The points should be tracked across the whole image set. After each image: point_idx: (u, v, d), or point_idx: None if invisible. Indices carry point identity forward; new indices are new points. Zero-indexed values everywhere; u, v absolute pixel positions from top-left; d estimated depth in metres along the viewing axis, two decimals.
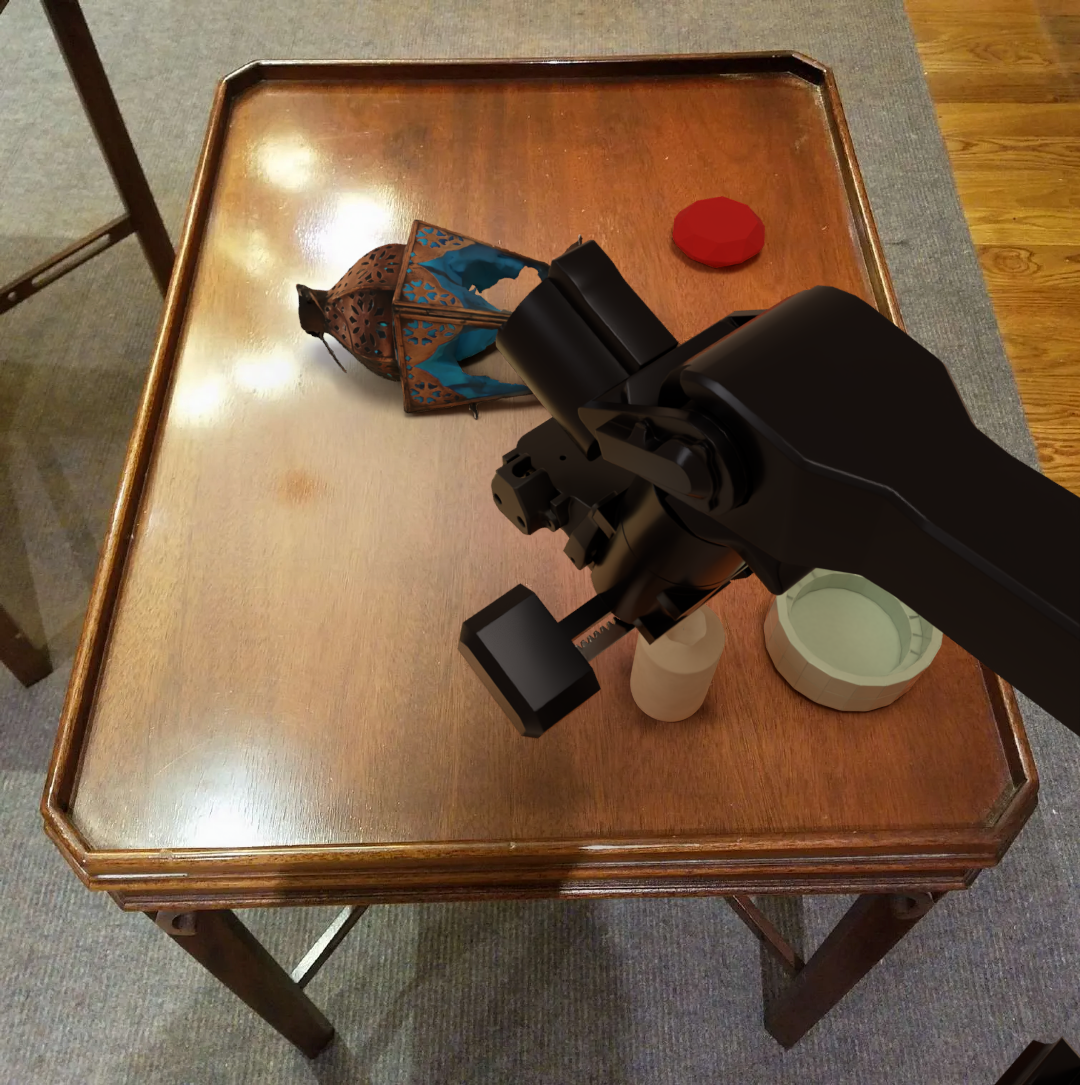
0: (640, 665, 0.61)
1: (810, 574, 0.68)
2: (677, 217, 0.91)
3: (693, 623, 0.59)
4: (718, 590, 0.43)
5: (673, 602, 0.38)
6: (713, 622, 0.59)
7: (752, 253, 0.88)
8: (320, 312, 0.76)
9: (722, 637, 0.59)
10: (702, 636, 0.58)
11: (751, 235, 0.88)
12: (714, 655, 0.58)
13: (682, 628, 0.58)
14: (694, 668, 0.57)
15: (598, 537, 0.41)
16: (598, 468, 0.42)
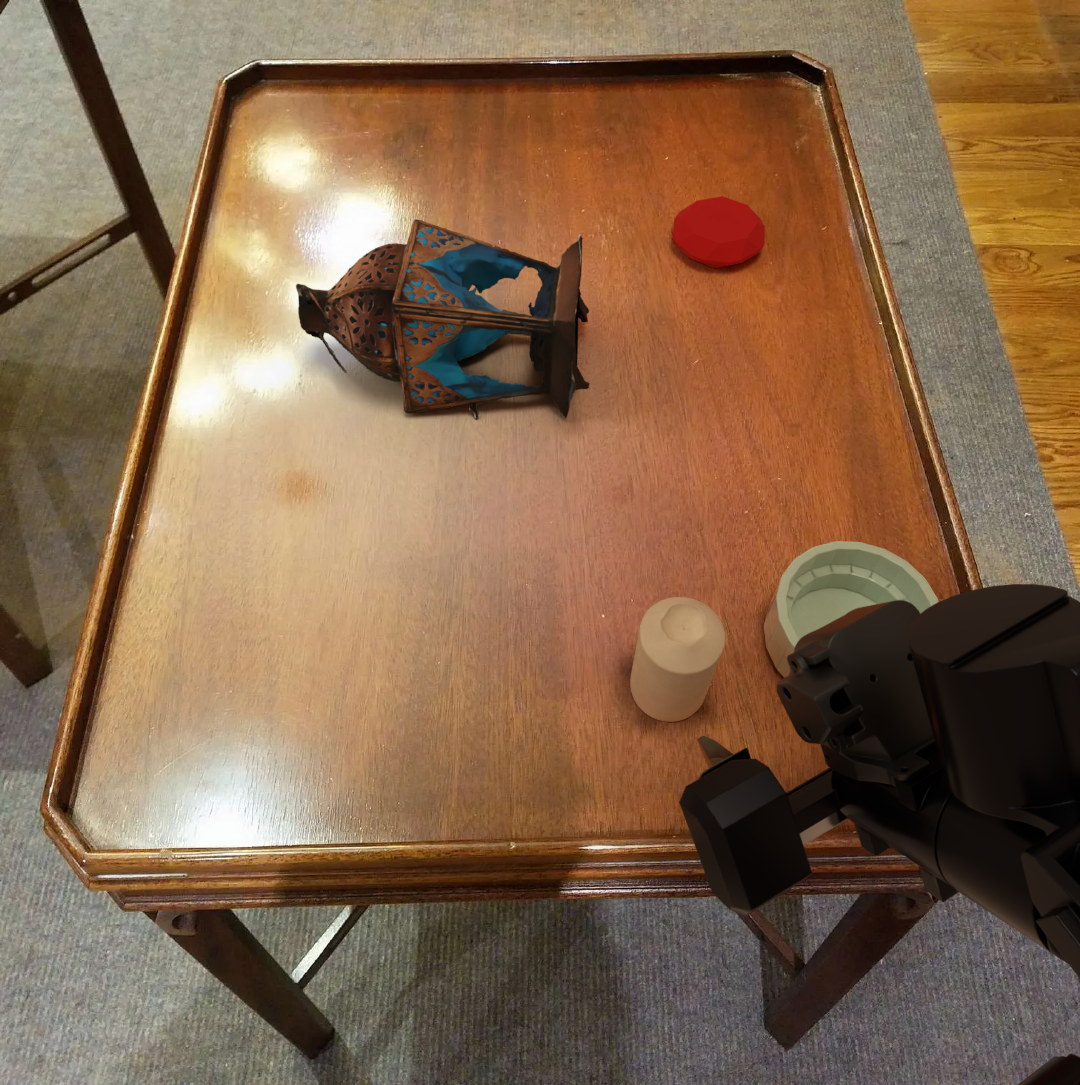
0: (640, 665, 0.61)
1: (810, 574, 0.68)
2: (677, 217, 0.91)
3: (693, 623, 0.59)
4: None
5: (940, 890, 0.37)
6: (713, 622, 0.59)
7: (752, 253, 0.88)
8: (320, 312, 0.76)
9: (722, 637, 0.59)
10: (702, 636, 0.58)
11: (751, 235, 0.88)
12: (714, 655, 0.58)
13: (682, 628, 0.58)
14: (694, 668, 0.57)
15: None
16: (905, 704, 0.38)
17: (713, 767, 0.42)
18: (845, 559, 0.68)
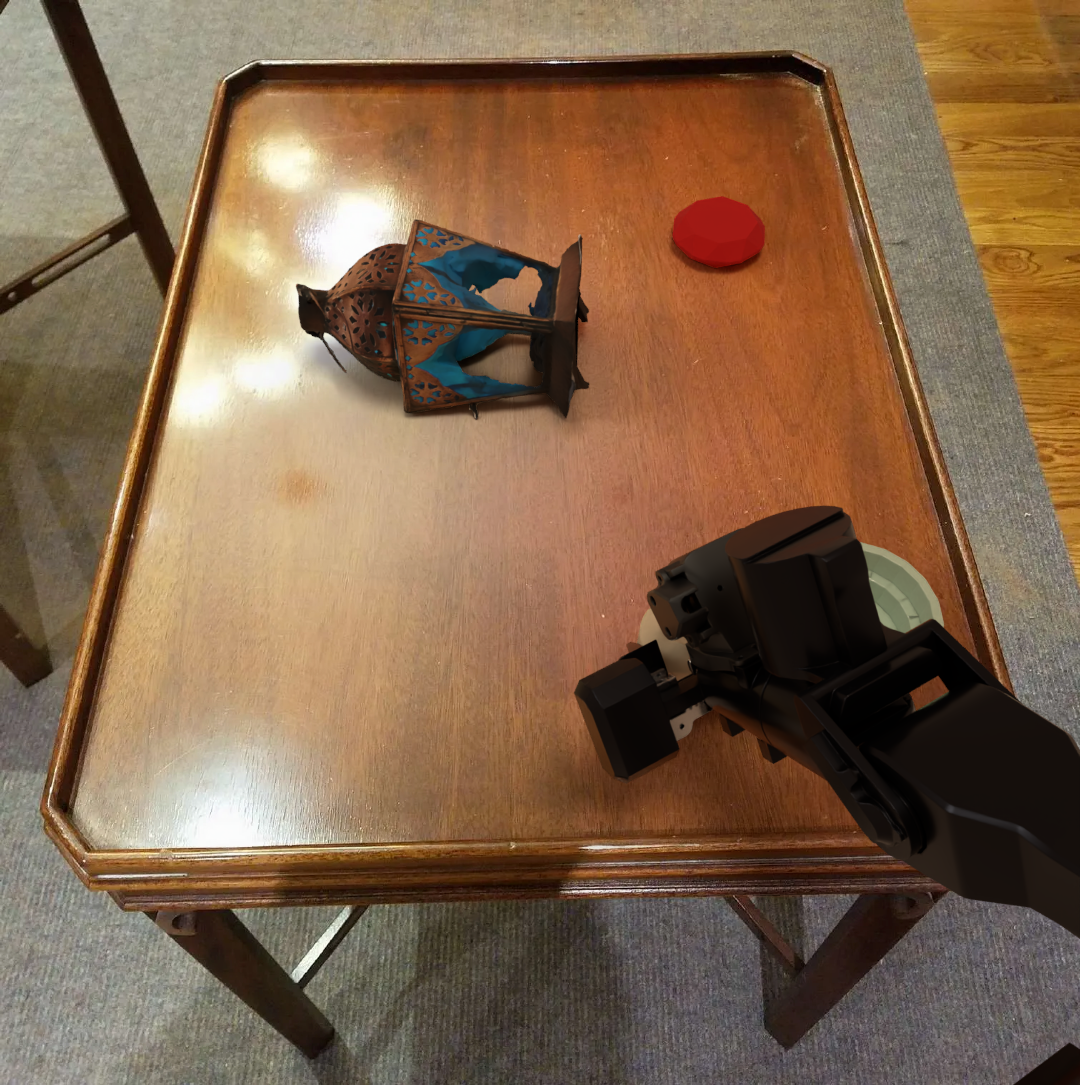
0: None
1: None
2: (677, 217, 0.91)
3: None
4: None
5: (770, 754, 0.48)
6: None
7: (752, 253, 0.88)
8: (320, 312, 0.76)
9: None
10: None
11: (751, 235, 0.88)
12: None
13: None
14: None
15: None
16: None
17: (628, 654, 0.53)
18: None
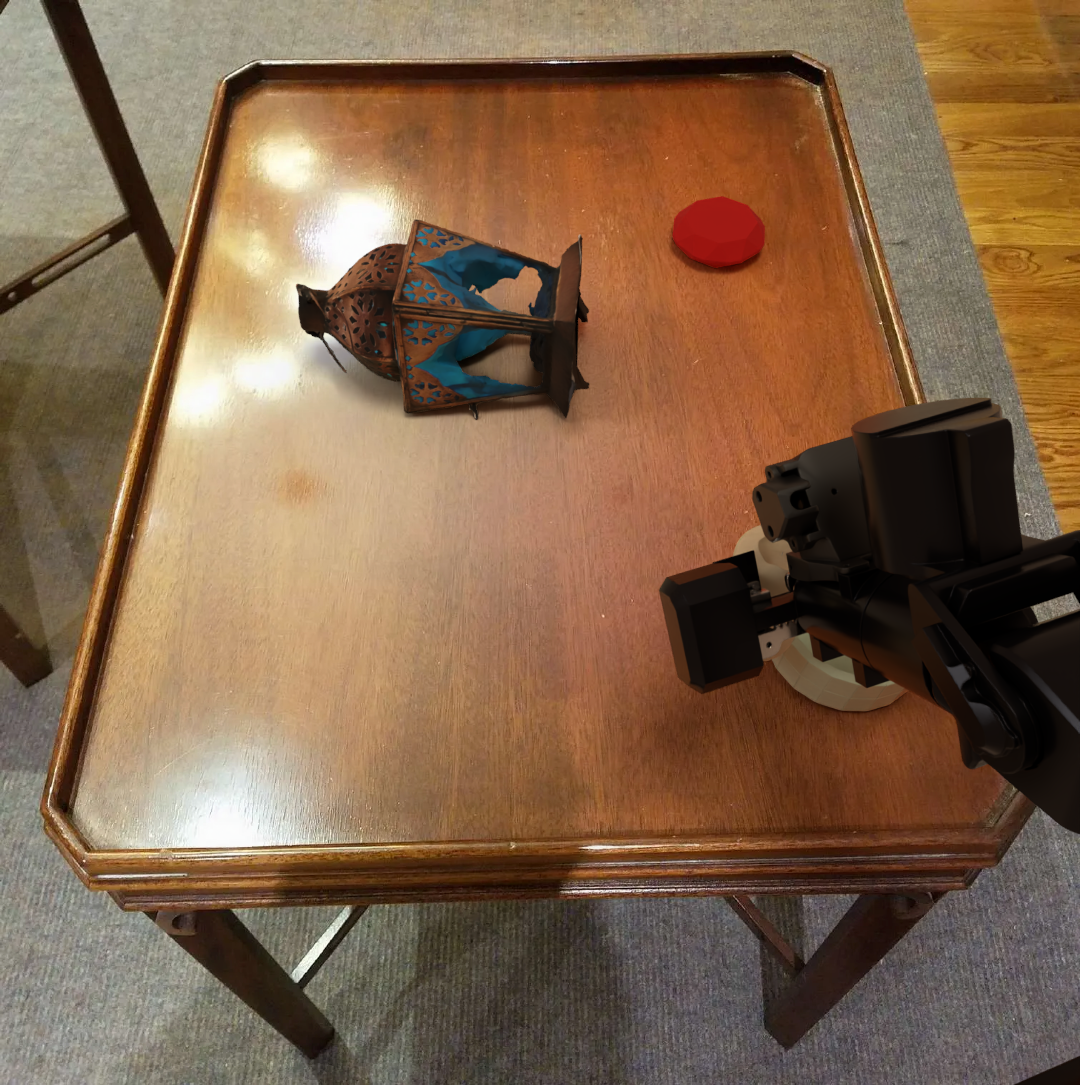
0: None
1: None
2: (677, 217, 0.91)
3: None
4: None
5: (865, 676, 0.44)
6: None
7: (752, 253, 0.88)
8: (320, 312, 0.76)
9: None
10: None
11: (751, 235, 0.88)
12: None
13: (780, 554, 0.55)
14: None
15: None
16: (859, 517, 0.44)
17: (722, 560, 0.49)
18: None
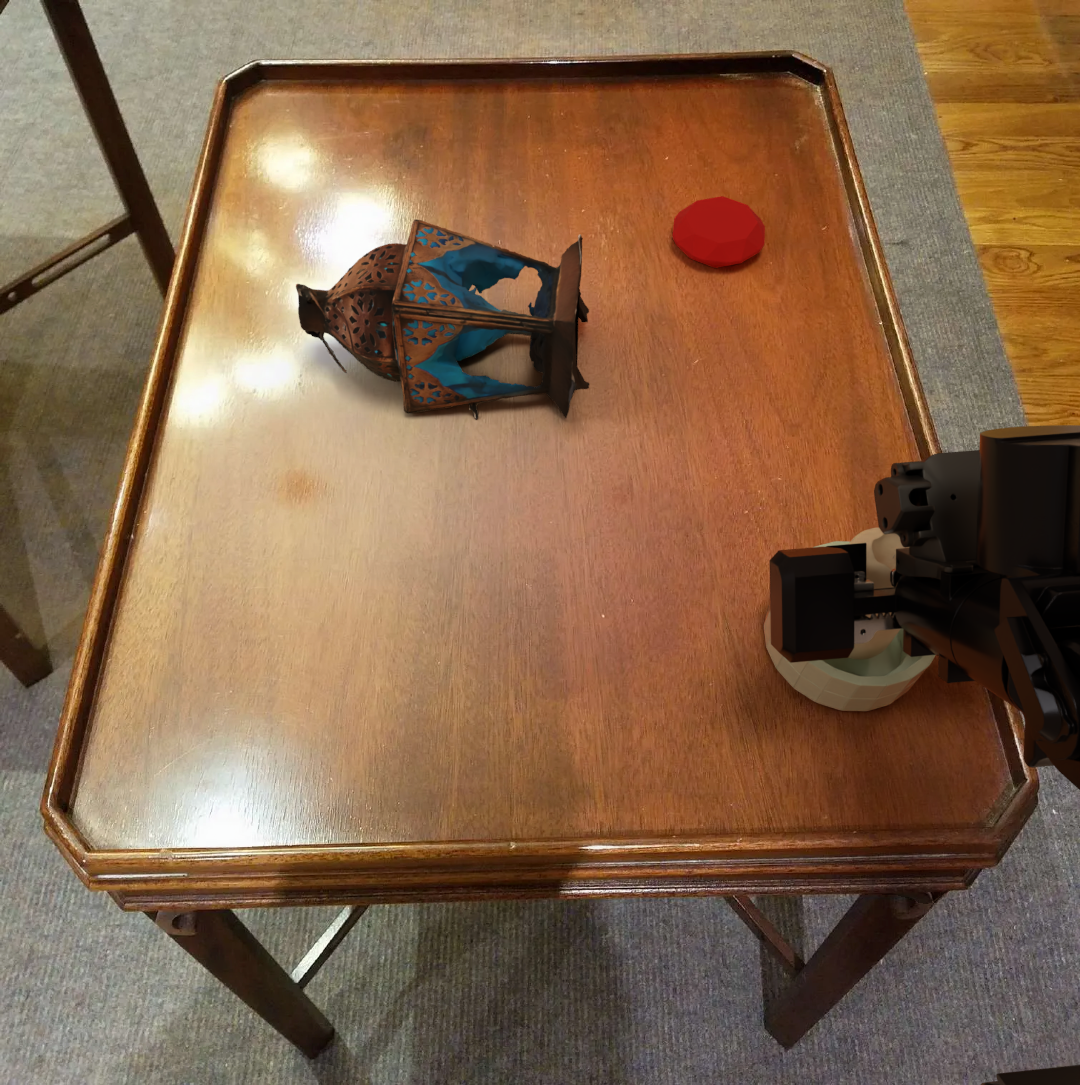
0: None
1: None
2: (677, 217, 0.91)
3: None
4: None
5: (948, 671, 0.47)
6: None
7: (752, 253, 0.88)
8: (320, 312, 0.76)
9: None
10: None
11: (751, 235, 0.88)
12: None
13: (892, 556, 0.58)
14: None
15: None
16: (973, 526, 0.47)
17: (834, 546, 0.53)
18: None
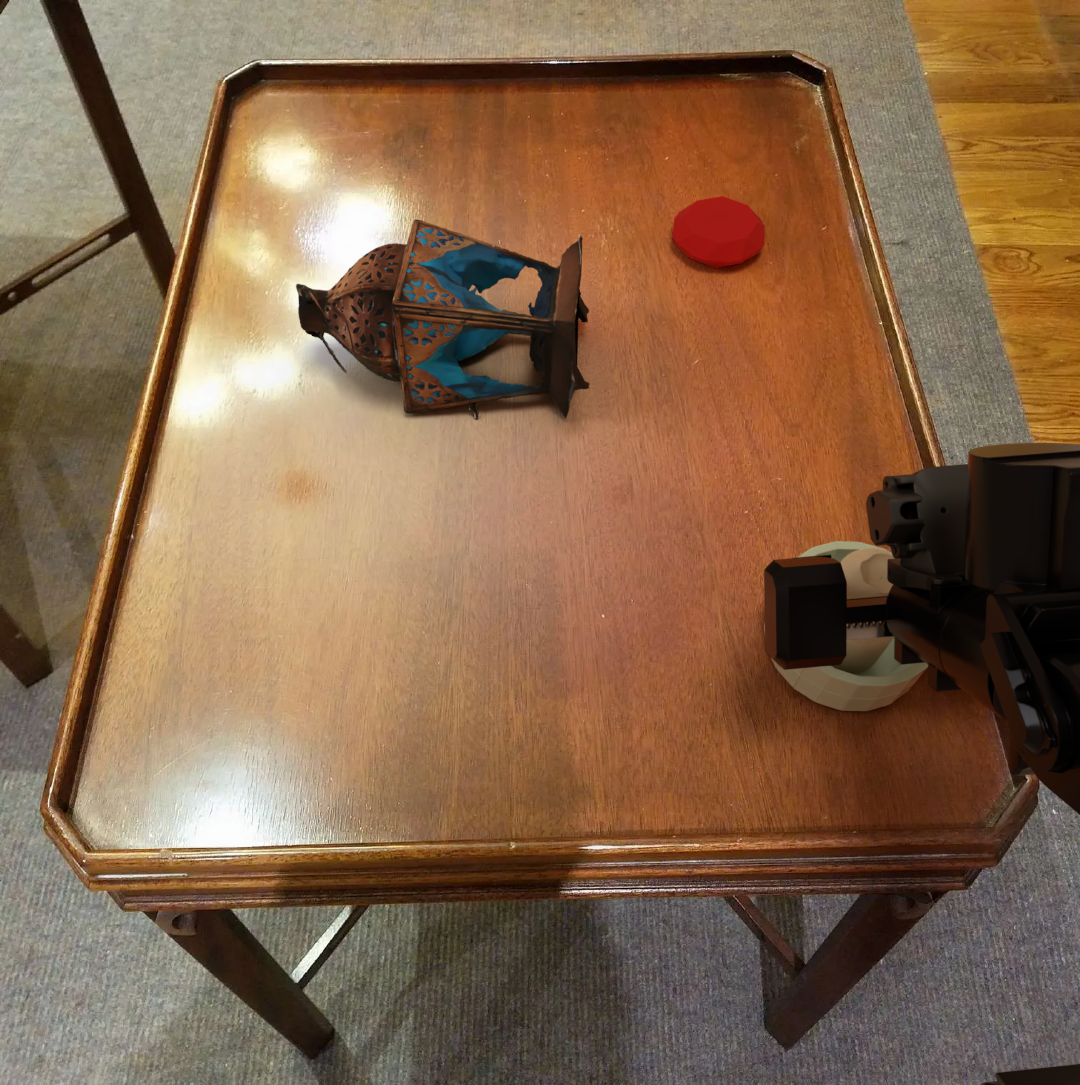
0: None
1: None
2: (677, 217, 0.91)
3: None
4: None
5: (937, 680, 0.48)
6: None
7: (752, 253, 0.88)
8: (320, 312, 0.76)
9: None
10: None
11: (751, 235, 0.88)
12: None
13: (879, 578, 0.60)
14: None
15: None
16: (962, 538, 0.48)
17: (799, 557, 0.54)
18: None
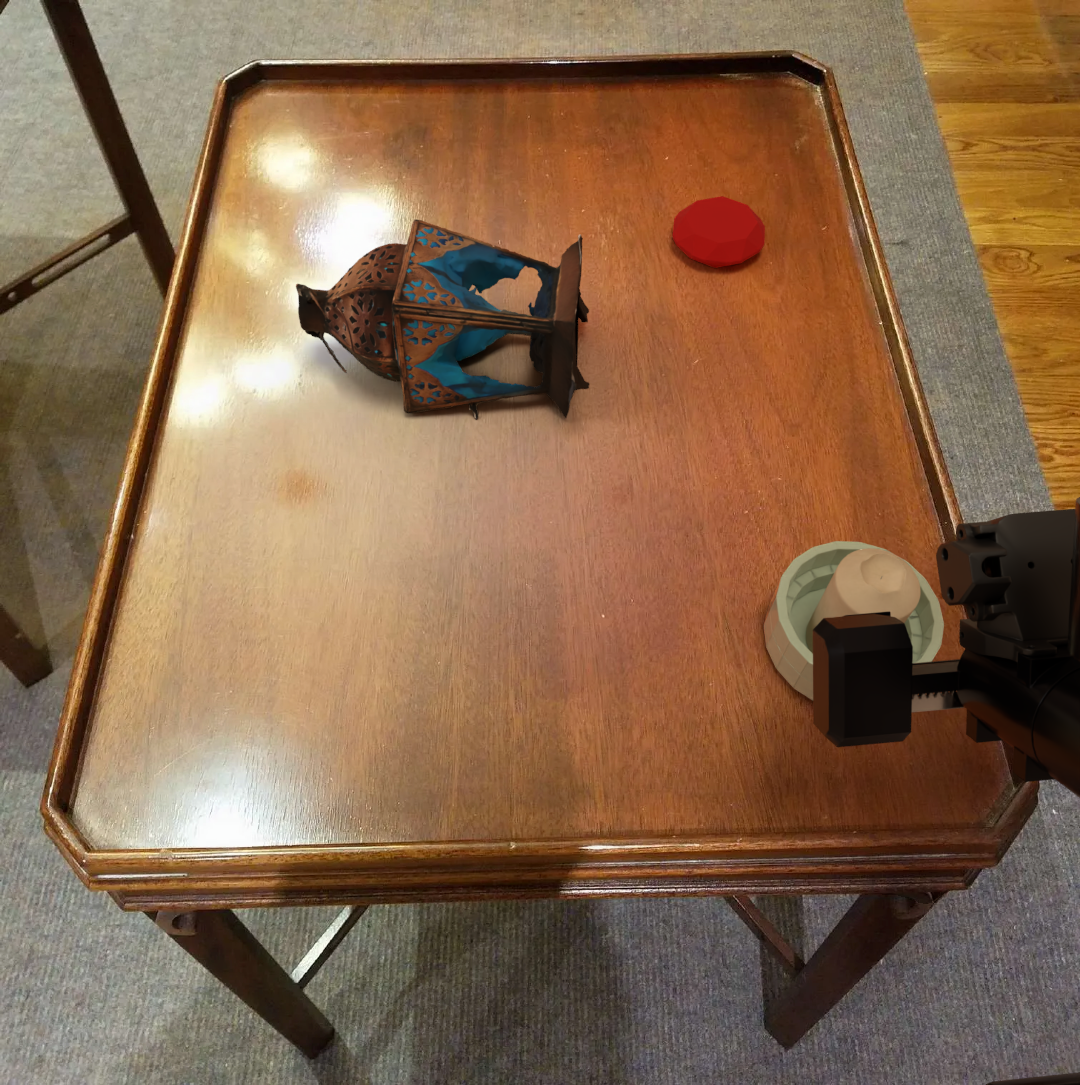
0: (826, 601, 0.62)
1: (810, 574, 0.68)
2: (677, 217, 0.91)
3: (892, 576, 0.60)
4: None
5: (1026, 769, 0.40)
6: (912, 582, 0.60)
7: (752, 253, 0.88)
8: (320, 312, 0.76)
9: (916, 599, 0.59)
10: (897, 590, 0.59)
11: (751, 235, 0.88)
12: (902, 611, 0.59)
13: (879, 578, 0.60)
14: None
15: None
16: (1054, 598, 0.41)
17: (853, 615, 0.46)
18: None
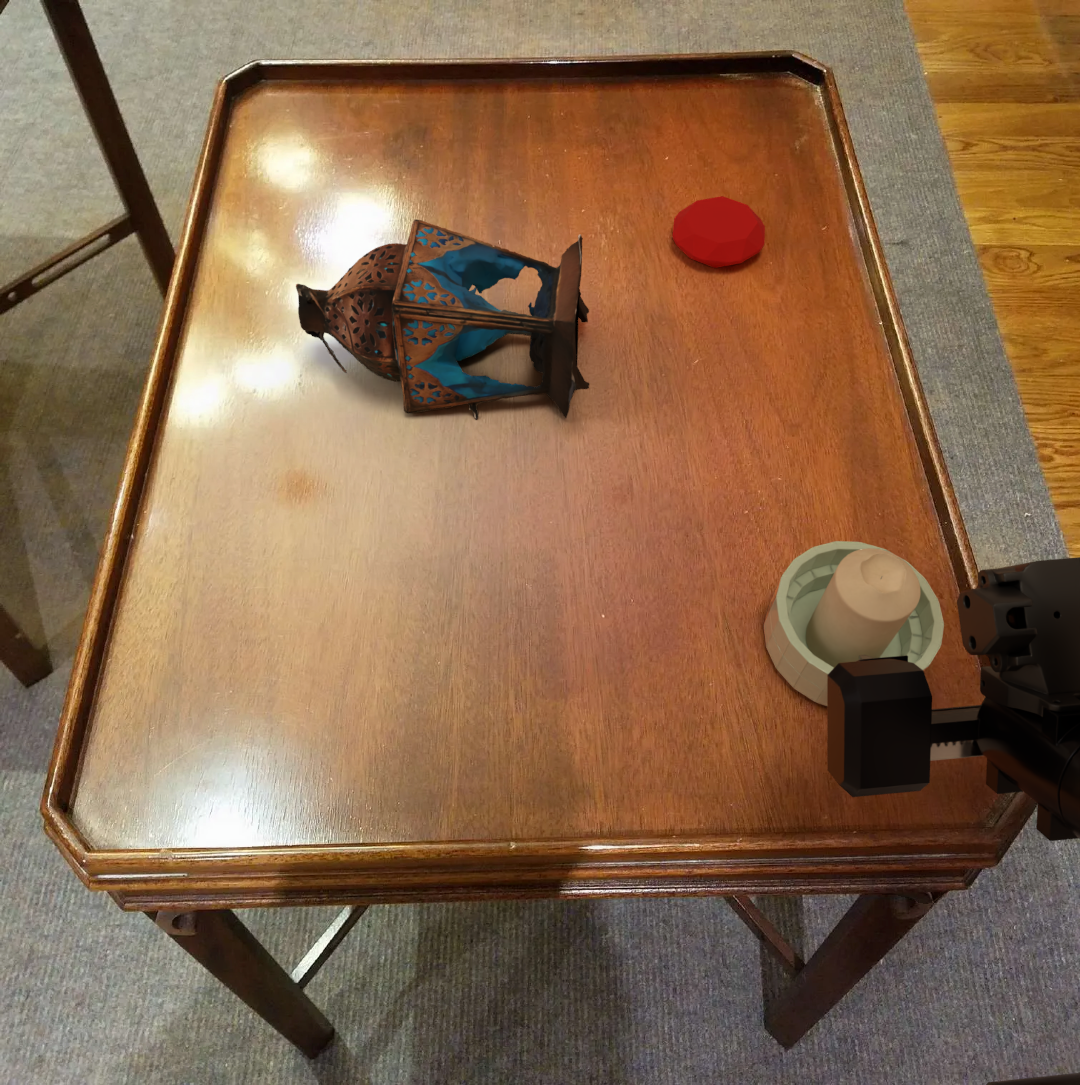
0: (826, 601, 0.62)
1: (810, 574, 0.68)
2: (677, 217, 0.91)
3: (892, 576, 0.60)
4: None
5: (1051, 828, 0.39)
6: (912, 582, 0.60)
7: (752, 253, 0.88)
8: (320, 312, 0.76)
9: (916, 599, 0.59)
10: (897, 590, 0.59)
11: (751, 235, 0.88)
12: (902, 611, 0.59)
13: (879, 578, 0.60)
14: (878, 616, 0.59)
15: None
16: None
17: (869, 659, 0.45)
18: None
